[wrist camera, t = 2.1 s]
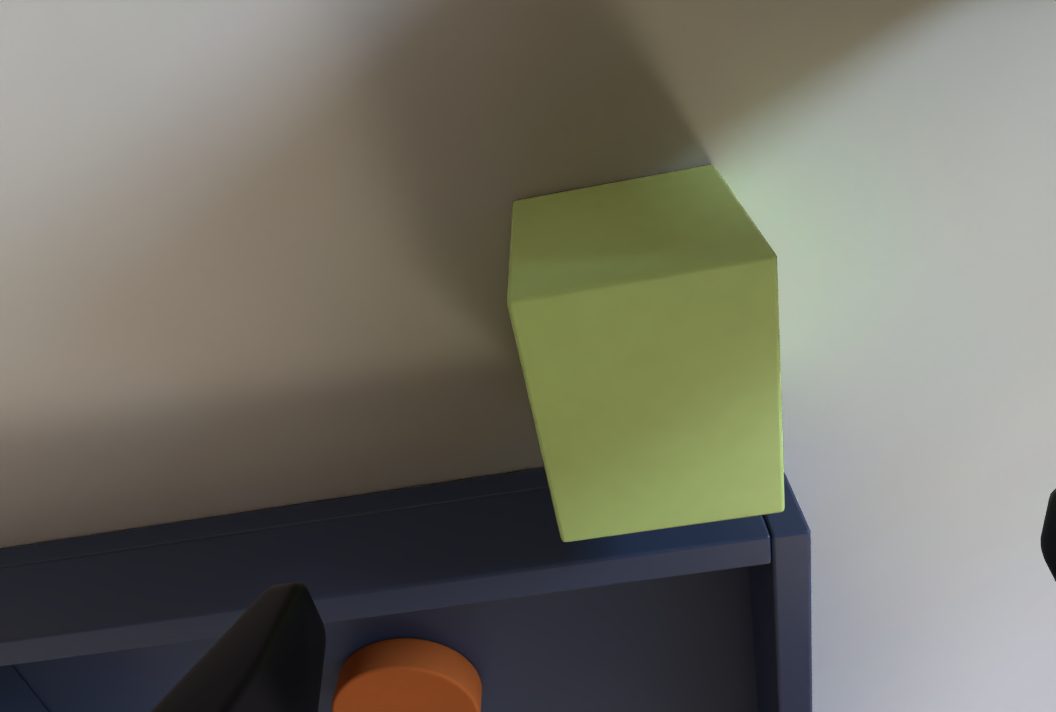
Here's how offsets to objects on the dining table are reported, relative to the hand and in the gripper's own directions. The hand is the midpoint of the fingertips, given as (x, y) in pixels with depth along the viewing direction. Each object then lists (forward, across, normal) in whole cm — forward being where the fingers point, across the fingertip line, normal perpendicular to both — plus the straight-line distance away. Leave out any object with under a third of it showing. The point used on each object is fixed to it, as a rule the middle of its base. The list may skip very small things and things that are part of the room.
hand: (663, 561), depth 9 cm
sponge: (+8, 0, 0) cm, 8 cm away
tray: (+8, +8, +12) cm, 17 cm away
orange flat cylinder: (+7, +7, +11) cm, 15 cm away
